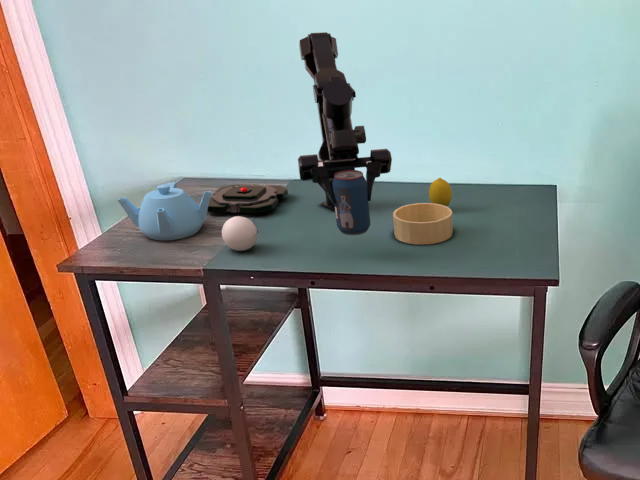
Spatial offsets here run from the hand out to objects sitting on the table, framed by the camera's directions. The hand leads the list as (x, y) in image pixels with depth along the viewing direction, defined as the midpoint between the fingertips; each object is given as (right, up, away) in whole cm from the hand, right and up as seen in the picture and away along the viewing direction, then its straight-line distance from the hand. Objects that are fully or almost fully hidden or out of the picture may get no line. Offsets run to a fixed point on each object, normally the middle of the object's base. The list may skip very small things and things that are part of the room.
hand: (351, 202), depth 146 cm
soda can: (0, -5, +5) cm, 7 cm away
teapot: (-45, -3, +20) cm, 49 cm away
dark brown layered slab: (-33, +7, +35) cm, 49 cm away
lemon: (+16, +5, +31) cm, 36 cm away
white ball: (-26, -8, +11) cm, 29 cm away
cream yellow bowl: (+13, -3, +17) cm, 22 cm away
